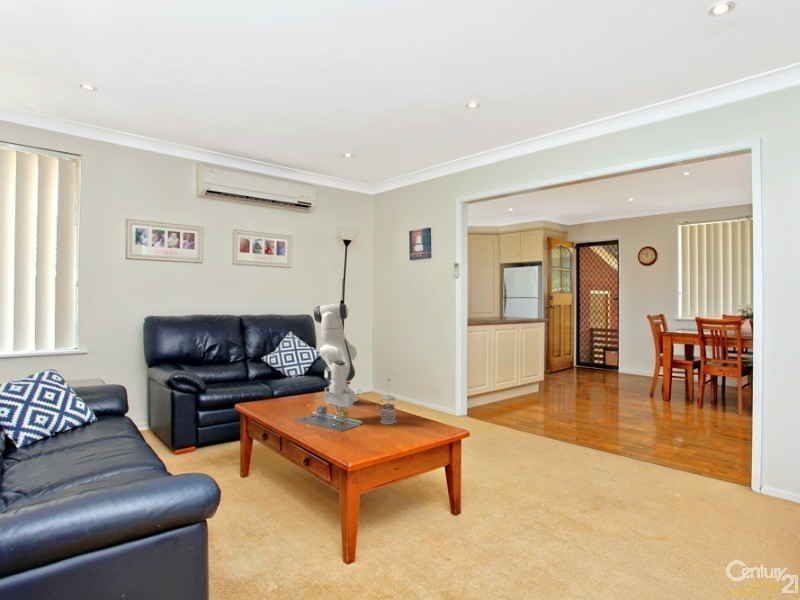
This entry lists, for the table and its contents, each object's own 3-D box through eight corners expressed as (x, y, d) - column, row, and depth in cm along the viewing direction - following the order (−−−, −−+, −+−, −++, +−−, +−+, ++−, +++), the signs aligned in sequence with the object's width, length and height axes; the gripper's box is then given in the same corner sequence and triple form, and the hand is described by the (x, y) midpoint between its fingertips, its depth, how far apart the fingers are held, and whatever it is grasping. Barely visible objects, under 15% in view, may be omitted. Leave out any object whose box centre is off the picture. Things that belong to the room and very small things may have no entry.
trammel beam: (321, 413, 279) (321, 405, 279) (363, 423, 258) (363, 414, 258) (309, 416, 271) (309, 408, 271) (352, 427, 251) (352, 418, 251)
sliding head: (343, 415, 268) (343, 409, 268) (348, 417, 265) (348, 410, 265) (331, 419, 260) (331, 412, 260) (336, 420, 258) (336, 413, 258)
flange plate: (313, 415, 275) (313, 414, 275) (358, 425, 254) (358, 424, 254) (295, 419, 264) (295, 418, 264) (340, 431, 242) (340, 430, 242)
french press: (394, 425, 256) (395, 380, 256) (374, 423, 258) (375, 379, 258) (398, 420, 266) (399, 377, 266) (378, 419, 268) (379, 376, 268)
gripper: (355, 390, 263) (355, 415, 263) (330, 386, 275) (330, 409, 275) (348, 392, 258) (347, 417, 258) (322, 387, 270) (322, 411, 270)
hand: (338, 413), depth 267 cm, fingers closed
